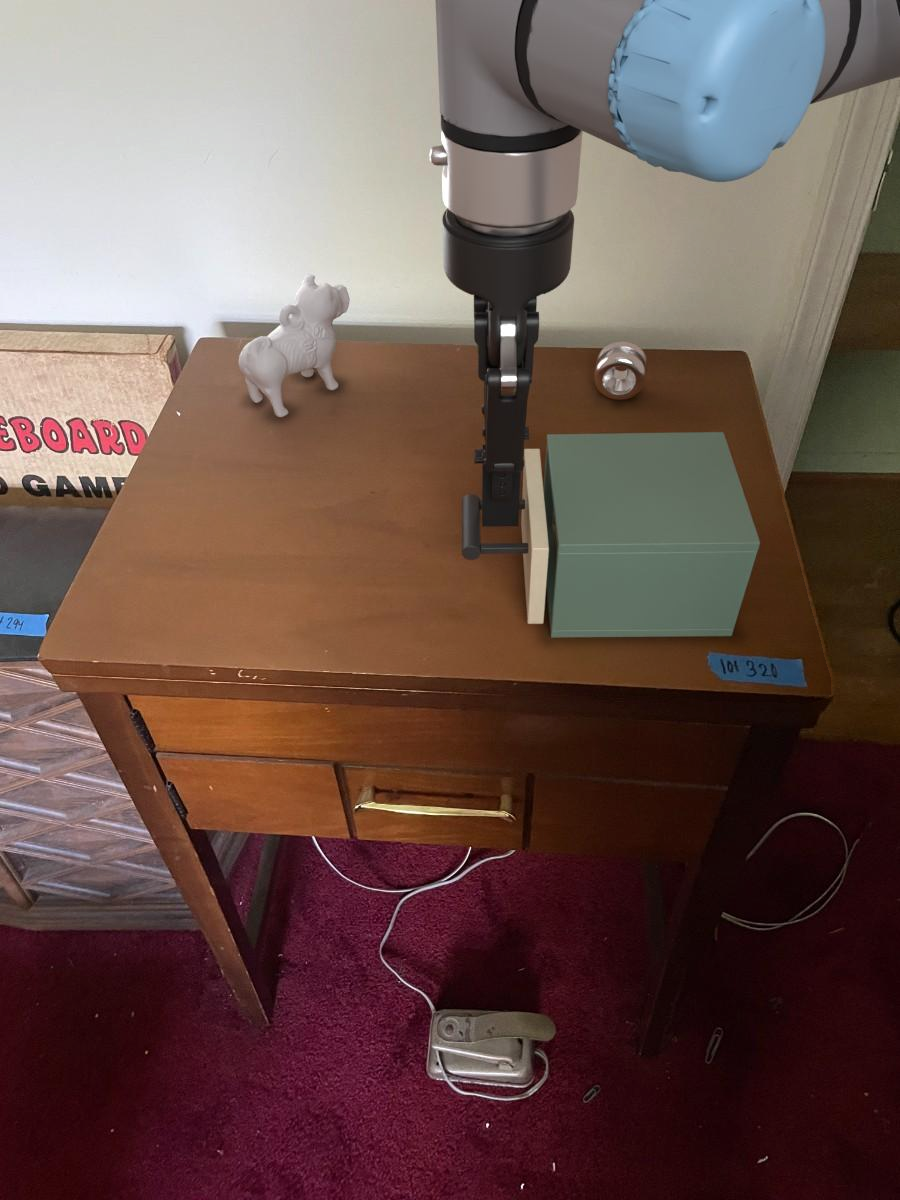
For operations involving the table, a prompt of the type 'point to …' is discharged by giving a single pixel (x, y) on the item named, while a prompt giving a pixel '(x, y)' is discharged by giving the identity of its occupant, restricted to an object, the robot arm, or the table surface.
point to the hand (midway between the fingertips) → (500, 519)
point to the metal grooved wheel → (616, 381)
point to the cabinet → (645, 535)
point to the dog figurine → (296, 343)
